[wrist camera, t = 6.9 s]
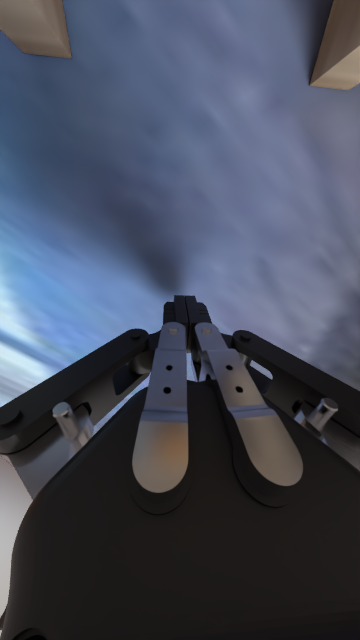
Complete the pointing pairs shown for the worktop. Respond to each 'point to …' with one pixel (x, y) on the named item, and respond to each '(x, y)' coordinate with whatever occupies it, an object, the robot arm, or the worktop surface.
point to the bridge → (52, 40)
